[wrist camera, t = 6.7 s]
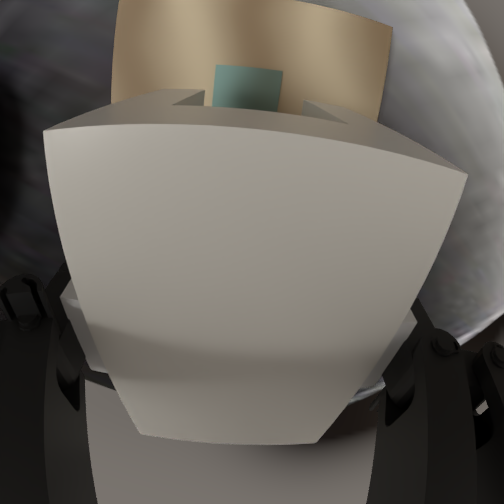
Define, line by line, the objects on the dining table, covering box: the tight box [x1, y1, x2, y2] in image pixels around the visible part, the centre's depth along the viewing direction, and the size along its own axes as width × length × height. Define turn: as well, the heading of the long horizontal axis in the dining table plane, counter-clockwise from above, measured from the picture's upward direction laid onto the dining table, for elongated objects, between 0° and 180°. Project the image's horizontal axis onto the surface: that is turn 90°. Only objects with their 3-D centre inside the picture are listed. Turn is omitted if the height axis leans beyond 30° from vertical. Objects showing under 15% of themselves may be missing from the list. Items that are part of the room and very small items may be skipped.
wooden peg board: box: [111, 0, 393, 122], centre depth 15 cm, size 14×20×6 cm
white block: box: [43, 89, 468, 445], centre depth 9 cm, size 6×10×7 cm, turn 174°
